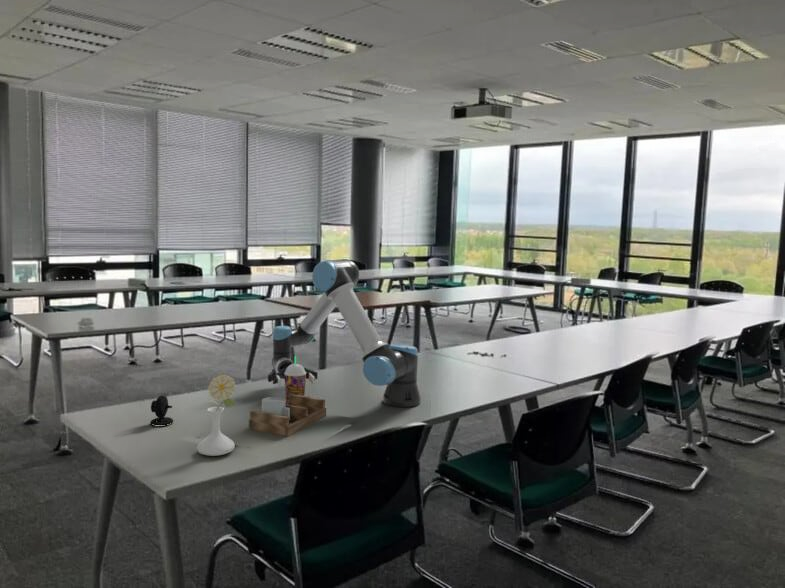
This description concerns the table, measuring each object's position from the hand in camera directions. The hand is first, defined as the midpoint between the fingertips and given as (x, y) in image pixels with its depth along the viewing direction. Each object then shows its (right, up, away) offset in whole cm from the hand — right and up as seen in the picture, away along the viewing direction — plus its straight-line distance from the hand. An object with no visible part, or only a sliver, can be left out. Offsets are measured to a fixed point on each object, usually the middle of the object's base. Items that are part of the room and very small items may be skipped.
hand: (297, 382), depth 235 cm
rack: (0, -13, -17) cm, 21 cm away
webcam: (-45, -12, -17) cm, 49 cm away
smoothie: (-2, -11, +5) cm, 12 cm away
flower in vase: (-18, -16, -43) cm, 49 cm away
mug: (-4, -12, -21) cm, 25 cm away
